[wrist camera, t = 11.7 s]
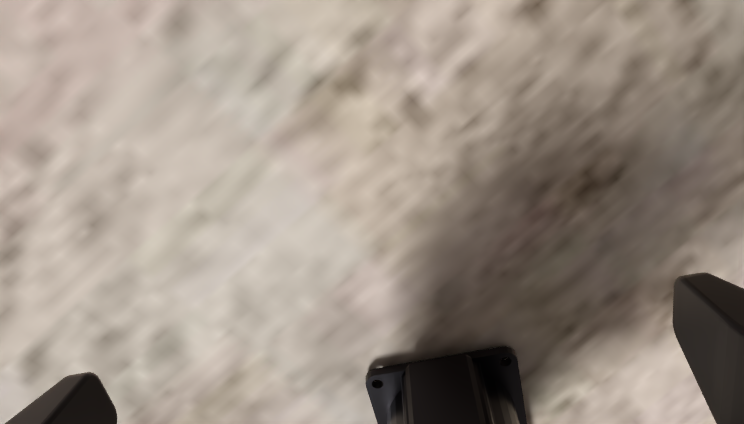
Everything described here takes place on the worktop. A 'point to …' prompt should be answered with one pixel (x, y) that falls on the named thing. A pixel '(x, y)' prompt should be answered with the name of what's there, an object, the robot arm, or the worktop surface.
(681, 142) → the worktop surface
